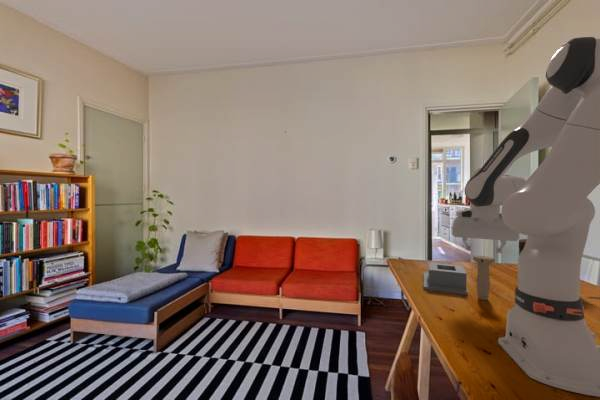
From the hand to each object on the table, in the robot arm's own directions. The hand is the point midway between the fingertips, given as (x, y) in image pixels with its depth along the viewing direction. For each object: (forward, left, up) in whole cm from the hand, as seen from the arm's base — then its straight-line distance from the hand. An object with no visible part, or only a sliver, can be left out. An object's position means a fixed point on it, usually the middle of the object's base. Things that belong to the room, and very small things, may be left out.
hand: (483, 251), depth 101 cm
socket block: (+13, +12, -17) cm, 24 cm away
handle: (0, 0, -17) cm, 17 cm away
